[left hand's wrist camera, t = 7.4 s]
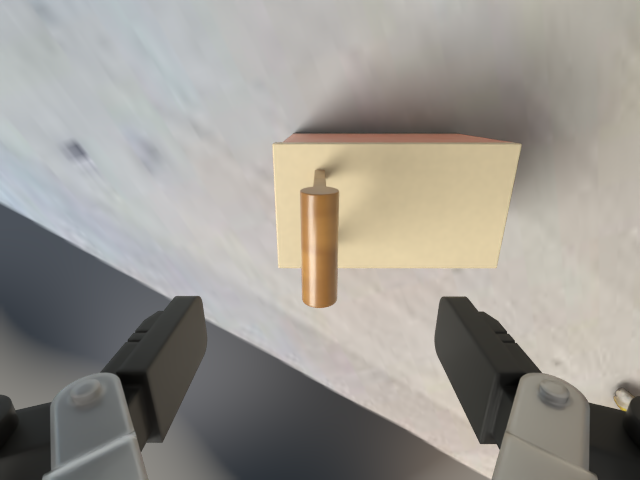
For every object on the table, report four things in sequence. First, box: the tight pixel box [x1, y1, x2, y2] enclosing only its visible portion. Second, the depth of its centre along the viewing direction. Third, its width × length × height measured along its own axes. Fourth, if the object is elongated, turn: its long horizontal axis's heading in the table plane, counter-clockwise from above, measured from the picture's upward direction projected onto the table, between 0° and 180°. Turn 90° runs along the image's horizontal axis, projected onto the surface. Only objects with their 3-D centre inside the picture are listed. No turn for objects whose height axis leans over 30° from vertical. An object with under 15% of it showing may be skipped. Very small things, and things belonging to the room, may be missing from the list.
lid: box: [273, 142, 522, 308], centre depth 21 cm, size 16×9×9 cm, turn 90°
